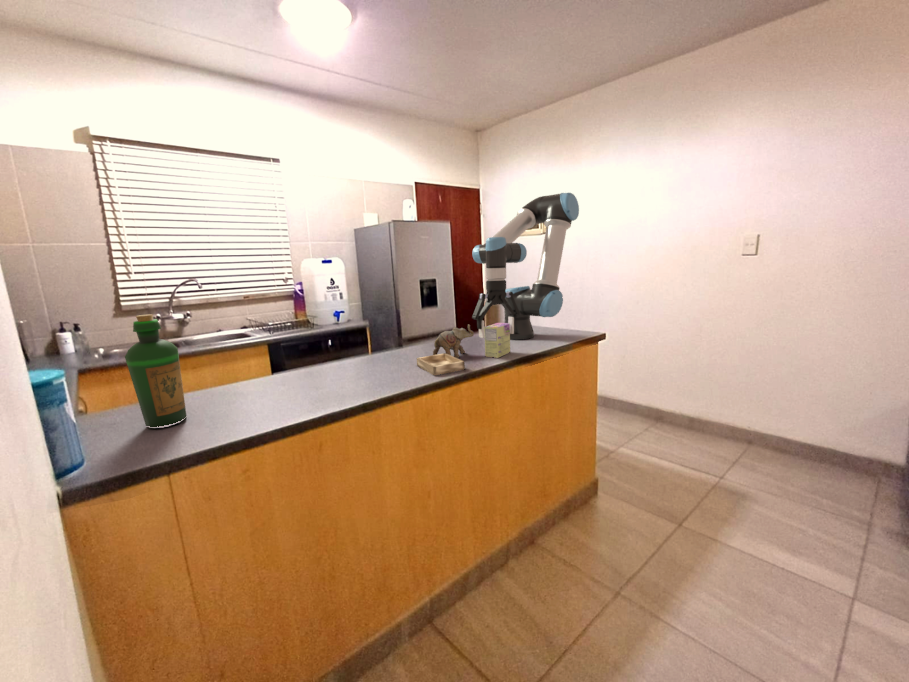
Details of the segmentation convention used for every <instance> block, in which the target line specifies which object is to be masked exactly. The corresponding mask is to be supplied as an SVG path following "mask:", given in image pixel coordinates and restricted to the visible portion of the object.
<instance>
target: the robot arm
mask: <svg viewBox="0 0 909 682" xmlns="http://www.w3.org/2000/svg"><path fill="white" fill-rule="evenodd" d="M579 213H580V205H579V201H578V199H577V196H575V194H574V193H571V192H561V193H556V194H549V195H542V196H537V197H536V198H534V199H532V200H531V201H529V202H528V203H526V204H525V205H524V206H523V207H521V208H520V209H519V210H518V211H517V213H516V216H515V217H513V218H512V219H511V220H510V221H509V222H508V223H507V224H505V225H504V226H503V227H502V228H501V229H500V230H499V231H497V233H495V234H494V235H493V236H491V237H487V238H486V240H485V243H484V244H477V245H475V246H474V248H473V249H472V258H473V261H474V262H475V263H477V264H483V265H485V277H486V281H485V285H486V286H485V288H486V293H479V294H478V301H477V303H476V306H475V309H474V311H473V314H472V316H471V319H473V320H476V328H477V329H478V338H481V339H485V333H484V327H485V321H484V320H483V319H484V318H485V316H486V314H487V313H488V312H489V310H490V308H491V307H493V306H496V305H501V306H502V307H503V309H504V312H503V313H504V321H503V323H509V324H510V340H511V339H523V340H530V339H532V338H534V336H535V331H534V328H533V325H532V322H531V317H540V318H541V317H542V318H553V317H555V316H557V315H558V314H559V312H561V309H562V307H563V303H564V295H563V292H561V290H560V286H559V285H558V279H559V273H560V269H561V268H560V267H561V262H562V257H563V252H564V251H563V250H564V245H565V239H566V235H567V230H568V229H570V228H571V227H572V223H573V221H576V220H577V219H578V217H579ZM541 224H543V225H544V226H545V228H546V229H545V235H544V239H543V245H542V252H541V254H540V255H541V257H540V262H539V268H538V273H537V277H536V279H537V280H536V281H535V282H533V283H532V285H531V286H532V287H531V286H530V285H525V286H517V287H510V288H507V280H506V279H507V264H518V263H522V262H524V260H526V257H527V252H528V251H527V247H526V246H525V245H524V244H522V243H520V242H515V241H516V240H517V239H518V238H520V236H521V235H523V234H524V233H525V232H526V231H527V230H528V229H532V228H533V227H534V226H537V225H541ZM529 338H530V339H529Z"/></svg>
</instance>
